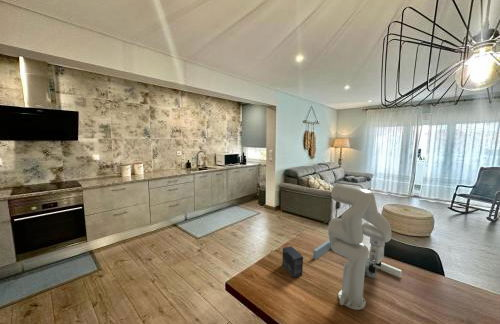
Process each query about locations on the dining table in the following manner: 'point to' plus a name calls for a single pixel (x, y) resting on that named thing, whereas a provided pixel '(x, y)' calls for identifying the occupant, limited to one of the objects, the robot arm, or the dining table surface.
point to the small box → (292, 261)
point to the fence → (384, 267)
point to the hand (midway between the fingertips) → (374, 268)
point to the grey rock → (368, 270)
